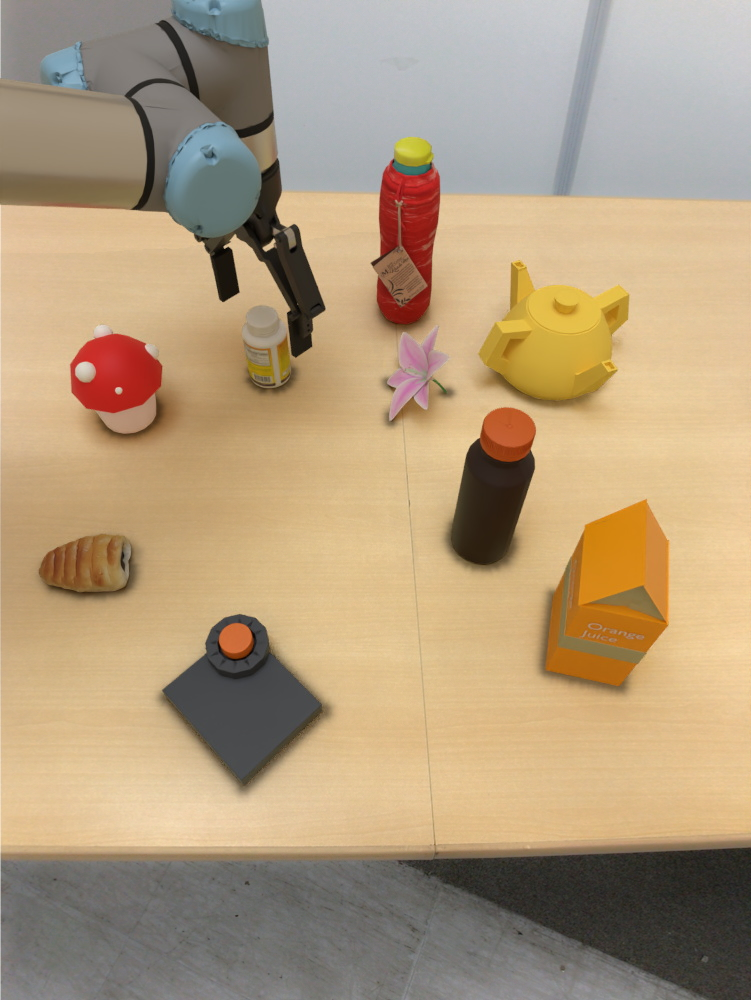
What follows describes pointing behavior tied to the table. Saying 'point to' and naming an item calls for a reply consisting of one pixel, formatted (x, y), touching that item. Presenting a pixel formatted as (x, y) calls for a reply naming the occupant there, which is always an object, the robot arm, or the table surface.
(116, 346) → the mushroom
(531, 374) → the teapot
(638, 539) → the orange juice
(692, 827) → the table surface
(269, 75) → the robot arm
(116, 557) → the pastry
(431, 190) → the water bottle
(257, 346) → the supplement bottle
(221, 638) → the button
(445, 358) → the lily
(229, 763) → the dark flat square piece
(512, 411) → the vinegar
